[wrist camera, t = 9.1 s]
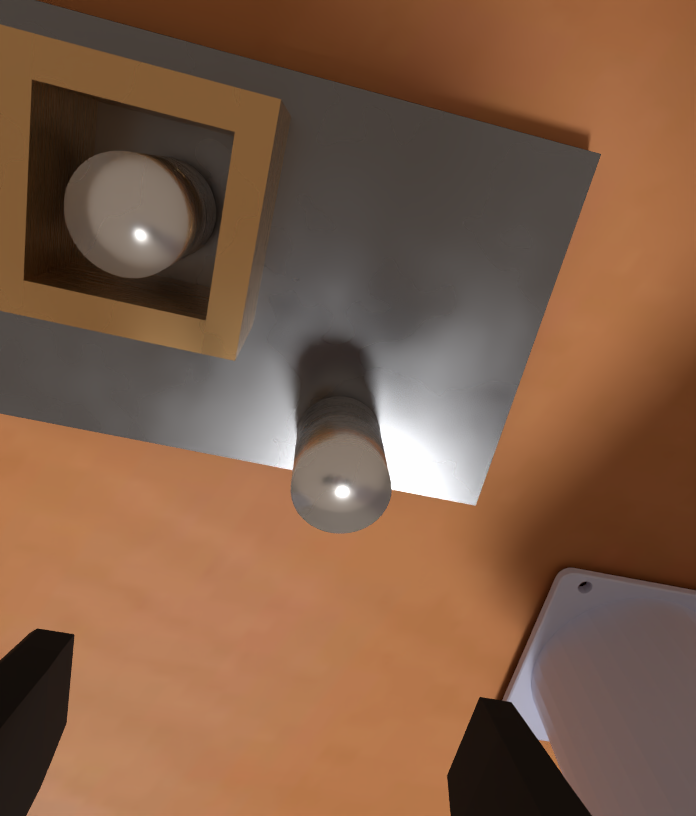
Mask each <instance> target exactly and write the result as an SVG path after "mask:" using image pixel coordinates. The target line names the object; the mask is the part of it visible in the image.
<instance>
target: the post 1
mask: <svg viewBox="0 0 696 816" xmlns="http://www.w3.org/2000/svg"><path fill="white" fill-rule="evenodd" d="M64 215H65V221H66V224H67V228H68V230H69V233H70V235H71V237H72V239H73V241H74V243H75V244H76V246H77V247H78V249H79V250H80V251H81V252H82V254H83V255H84V256H85V257H86V258H87V259H88V260H89V261H90V262H92V263H93V264H94V265H96V266H97V267H99V268H100V269H102V270H104V271H106V272H108V273H110V274H113V275H116V276H120V277H125V278H143V277H147V276H151V275H154V274H156V273H159V272H160V271H162V270H164V269H166V268H167V267H169V266H171V265H173V264H174V263H176V262H178V261H180V260H182V259H183V258H185V257H187V256H189V255H190V254H192V253H194V252H196V251H197V250H198V249H200V248H201V247H202V246H203V245H204V244H205V243H206V242H207V240H208V239H209V237H210V235H211V233H212V231H213V228H214V225H215V220H216V205H215V200H214V197H213V193H212V191H211V189H210V187H209V185H208V183H207V182H206V180H205V179H204V178H203V176H202V175H201V174H200V173H199V172H198V171H197V170H196V169H195V168H193V167H192V166H191V165H189V164H187V163H186V162H184V161H182V160H179V159H176V158H172V157H167V156H159V155H151V154H144V153H136V152H128V151H108V152H104V153H100V154H97V155H95V156H93V157H91V158H89V159H88V160H86V161H85V162H84V163H82V164H81V165H80V166H79V167H78V168H77V170H76V171H75V172H74V174H73V175H72V177H71V178H70V181H69V183H68V185H67V188H66V192H65V198H64Z"/></svg>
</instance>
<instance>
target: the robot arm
mask: <svg viewBox="0 0 696 816" xmlns="http://www.w3.org/2000/svg"><path fill="white" fill-rule="evenodd" d="M582 582H587V583H586V584H585V585H583V586H579V585H580V584H581V583H582ZM73 645H74V634H69V633H63V632H56V631H50V630H43V629H36V630H34V631H32V632H31V633H29V634H28V635H27V636H26V637H25V638H24V639H23V640H22V641H21V642H20V643H19V644H17V645H16V646H15V647H14V648H13V649H12V650H11V651H10V652H9V653H8V654H7V655H6V656H4V657H3V658H2V659H1V660H0V816H26V815H27V813H28V811H29V809H30V807H31V805H32V803H33V801H34V799H35V797H36V795H37V793H38V791H39V789H40V787H41V785H42V782H43V780H44V778H45V775H46V773H47V770H48V768H49V766H50V763H51V761H52V758H53V756H54V753H55V751H56V748H57V746H58V743H59V741H60V738H61V736H62V733H63V731H64V728H65V726H66V723H67V712H68V701H69V690H70V678H71V667H72V656H73ZM539 740H544V741H550V744H551V746H552V749H553V751H554V754H555V756H556V759H557V761H558V764H559V766H560V769H561V772H562V773H561V772H560V770H559V769H558V768H557V766H556V765H555V763H554V762H553V760H552V759H551V758H550V756H549V755H548V753H547V752H546V751H545V749H544V748H543V746H542V745H541V743H540V742H539ZM562 774H563V775H562ZM447 779H448V790H449V801H450V812H451V816H696V590H691V589H686V588H680V587H675V586H669V585H664V584H659V583H653V582H648V581H642V580H637V579H631V578H626V577H621V576H615V575H610V574H604V573H599V572H594V571H588V570H583V569H577V568H566V569H563V570H561V571H560V572H559V573H558V574H557V576H556V577H555V579H554V582H553V584H552V586H551V589H550V591H549V593H548V596H547V598H546V600H545V603H544V605H543V607H542V609H541V612H540V614H539V616H538V619H537V621H536V623H535V626H534V628H533V630H532V633H531V635H530V637H529V639H528V642H527V644H526V646H525V649H524V651H523V653H522V656H521V658H520V660H519V663H518V665H517V667H516V669H515V672H514V674H513V676H512V679H511V681H510V683H509V686H508V688H507V690H506V693H505V695H504V697H503V699H502V700H495V699H489V698H482V697H480V698H479V700H478V703H477V705H476V707H475V710H474V712H473V715H472V717H471V719H470V722H469V724H468V727H467V729H466V731H465V734H464V736H463V739H462V741H461V744H460V746H459V748H458V751H457V753H456V756H455V758H454V760H453V763H452V765H451V768H450V770H449V772H448V775H447Z"/></svg>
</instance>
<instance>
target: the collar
mask: <svg viewBox="0 0 696 816" xmlns="http://www.w3.org/2000/svg"><path fill="white" fill-rule="evenodd" d="M98 101H99V102H102V103H106V104H110V105H114V106H118V107H122V108H126V109H130V110H134V111H137V112H141V113H145V114H149V115H153V116H157V117H161V118H165V119H169V120H172V121H176V122H180V123H184V124H188V125H192V126H196V127H200V128H203V129H207V130H211V131H215V132H219V133H223V134H227V135H231V136H234V141H233V147H232V154H231V160H230V167H229V173H228V180H227V186H226V193H225V199H224V206H223V212H222V219H221V225H220V232H219V238H218V245H217V251H216V258H215V264H214V271H213V277H212V284H211V287H206V286H202V285H197V284H193V283H189V282H184V281H180V280H175V279H171V278H167V277H162V276H158V275H151V276H147V277H143V278H125V277H120V276H116V275H113V274H110V273H108V272H106V271H104V270H102V269H100V268H99V267H97V266H96V265H94V264H93V263H92V262H90V261H89V260H87V259H86V257H85V256H84V255H83V254H82V252H81V251H80V250H79V249H78V247H77V246H76V244H75V243H74V241H73V239H72V237H71V235H70V233H69V230H68V228H67V224H66V221H65V215H64V198H65V192H66V188H67V185H68V183H69V181H70V178H71V177H72V175H73V174H74V172H75V171H76V170H77V168H78V167H79V166H80V165H81V164H82V163H84V162H85V161H86V160H88V159H89V158H91V157H93V156H94V146H95V133H96V120H97V107H98ZM290 120H291V115H290V114H289V112H288V110H287V109H286V107H285V105H284V103H283V102H282V100H281V99H278V98H274V97H270V96H267V95H263V94H259V93H255V92H252V91H248V90H244V89H240V88H237V87H233V86H229V85H225V84H222V83H218V82H214V81H210V80H207V79H203V78H199V77H196V76H192V75H188V74H184V73H181V72H177V71H173V70H169V69H166V68H162V67H158V66H154V65H151V64H147V63H143V62H139V61H136V60H132V59H128V58H124V57H121V56H117V55H113V54H109V53H106V52H102V51H98V50H94V49H91V48H87V47H83V46H79V45H76V44H72V43H68V42H64V41H61V40H57V39H53V38H49V37H46V36H42V35H38V34H34V33H31V32H27V31H23V30H19V29H16V28H12V27H8V26H4V25H1V24H0V311H3V312H8V313H13V314H17V315H22V316H27V317H32V318H36V319H41V320H46V321H50V322H55V323H60V324H64V325H69V326H74V327H78V328H83V329H88V330H92V331H97V332H102V333H106V334H111V335H116V336H120V337H125V338H130V339H134V340H139V341H144V342H149V343H153V344H158V345H163V346H167V347H172V348H177V349H181V350H186V351H191V352H195V353H200V354H205V355H209V356H214V357H219V358H223V359H228V360H233V361H235V360H236V358H237V356H238V354H239V352H240V350H241V348H242V346H243V344H244V342H245V340H246V338H247V336H248V334H249V332H250V330H251V328H252V326H253V322H254V317H255V311H256V306H257V300H258V295H259V289H260V284H261V278H262V273H263V268H264V262H265V257H266V251H267V246H268V240H269V235H270V229H271V224H272V218H273V213H274V207H275V202H276V196H277V191H278V186H279V180H280V175H281V169H282V164H283V158H284V153H285V147H286V142H287V136H288V131H289V125H290Z"/></svg>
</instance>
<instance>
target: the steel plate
mask: <svg viewBox="0 0 696 816" xmlns="http://www.w3.org/2000/svg"><path fill="white" fill-rule="evenodd" d="M0 24H1V25H4V26H8V27H12V28H16V29H19V30H23V31H27V32H31V33H34V34H38V35H42V36H46V37H49V38H53V39H57V40H61V41H64V42H68V43H72V44H76V45H79V46H83V47H87V48H91V49H94V50H98V51H102V52H106V53H109V54H113V55H117V56H121V57H124V58H128V59H132V60H136V61H139V62H143V63H147V64H151V65H154V66H158V67H162V68H166V69H169V70H173V71H177V72H181V73H184V74H188V75H192V76H196V77H199V78H203V79H207V80H210V81H214V82H218V83H222V84H225V85H229V86H233V87H237V88H240V89H244V90H248V91H252V92H255V93H259V94H263V95H267V96H270V97H274V98H278V99H281V100H282V102H283V103H284V105H285V107H286V109H287V110H288V112H289V114H290V115H291V120H290V125H289V131H288V136H287V142H286V147H285V153H284V158H283V164H282V169H281V175H280V180H279V186H278V191H277V196H276V202H275V207H274V213H273V218H272V224H271V229H270V235H269V240H268V246H267V251H266V257H265V262H264V268H263V273H262V278H261V284H260V289H259V295H258V300H257V306H256V311H255V317H254V322H253V326H252V328H251V330H250V332H249V334H248V336H247V338H246V340H245V342H244V344H243V346H242V348H241V350H240V352H239V354H238V356H237V358H236V360H235V361H233V360H228V359H223V358H219V357H214V356H209V355H205V354H200V353H195V352H191V351H186V350H181V349H177V348H172V347H167V346H163V345H158V344H153V343H149V342H144V341H139V340H134V339H130V338H125V337H120V336H116V335H111V334H106V333H102V332H97V331H92V330H88V329H83V328H78V327H74V326H69V325H64V324H60V323H55V322H50V321H46V320H41V319H36V318H32V317H27V316H22V315H17V314H13V313H8V312H3V311H0V413H1V414H6V415H11V416H16V417H21V418H27V419H32V420H37V421H42V422H47V423H52V424H58V425H63V426H68V427H73V428H78V429H83V430H89V431H94V432H99V433H104V434H109V435H114V436H120V437H125V438H130V439H135V440H140V441H145V442H150V443H156V444H161V445H166V446H171V447H176V448H181V449H187V450H192V451H197V452H202V453H207V454H212V455H218V456H223V457H228V458H233V459H238V460H243V461H249V462H254V463H259V464H264V465H269V466H274V467H280V468H285V469H290V470H293V463H294V455H295V446H296V438H297V430H298V425H299V422H300V420H301V417H302V416H303V414H304V413H305V412H306V411H307V409H308V408H309V407H311V406H312V405H313V404H315V403H316V402H318V401H320V400H322V399H325V398H329V397H335V396H343V397H349V398H353V399H356V400H358V401H360V402H362V403H363V404H365V405H366V406H367V407H368V408H369V409H370V410H371V411H372V412H373V413H374V415H375V417H376V418H377V421H378V423H379V427H380V432H381V437H382V442H383V446H384V451H385V456H386V461H387V465H388V470H389V475H390V479H391V487H392V489H393V490H398V491H404V492H409V493H414V494H419V495H424V496H429V497H435V498H440V499H445V500H450V501H455V502H460V503H466V504H471V505H476V503H477V500H478V497H479V495H480V492H481V489H482V486H483V483H484V481H485V478H486V475H487V472H488V469H489V467H490V464H491V461H492V458H493V455H494V453H495V450H496V447H497V444H498V441H499V439H500V436H501V433H502V430H503V427H504V425H505V422H506V419H507V416H508V413H509V411H510V408H511V405H512V402H513V399H514V397H515V394H516V391H517V388H518V385H519V383H520V380H521V377H522V374H523V371H524V369H525V366H526V363H527V360H528V357H529V355H530V352H531V349H532V346H533V343H534V341H535V338H536V335H537V332H538V329H539V327H540V324H541V321H542V318H543V315H544V313H545V310H546V307H547V304H548V301H549V299H550V296H551V293H552V290H553V287H554V285H555V282H556V279H557V276H558V273H559V271H560V268H561V265H562V262H563V259H564V257H565V254H566V251H567V248H568V245H569V243H570V240H571V237H572V234H573V231H574V229H575V226H576V223H577V220H578V217H579V215H580V212H581V209H582V206H583V203H584V201H585V198H586V195H587V192H588V189H589V187H590V184H591V181H592V178H593V175H594V173H595V170H596V167H597V164H598V161H599V159H600V156H601V154H599V153H595V152H591V151H588V150H584V149H580V148H577V147H573V146H569V145H566V144H562V143H558V142H555V141H551V140H547V139H544V138H540V137H536V136H533V135H529V134H525V133H522V132H518V131H514V130H511V129H507V128H503V127H500V126H496V125H492V124H489V123H485V122H481V121H477V120H474V119H470V118H466V117H463V116H459V115H455V114H452V113H448V112H444V111H441V110H437V109H433V108H430V107H426V106H422V105H419V104H415V103H411V102H408V101H404V100H400V99H397V98H393V97H389V96H386V95H382V94H378V93H375V92H371V91H367V90H363V89H360V88H356V87H352V86H349V85H345V84H341V83H338V82H334V81H330V80H327V79H323V78H319V77H316V76H312V75H308V74H305V73H301V72H297V71H294V70H290V69H286V68H283V67H279V66H275V65H272V64H268V63H264V62H261V61H257V60H253V59H250V58H246V57H242V56H238V55H235V54H231V53H227V52H224V51H220V50H216V49H213V48H209V47H205V46H202V45H198V44H194V43H191V42H187V41H183V40H180V39H176V38H172V37H169V36H165V35H161V34H158V33H154V32H150V31H147V30H143V29H139V28H136V27H132V26H128V25H124V24H121V23H117V22H113V21H110V20H106V19H102V18H99V17H95V16H91V15H88V14H84V13H80V12H77V11H73V10H69V9H66V8H62V7H58V6H55V5H51V4H47V3H44V2H40V1H36V0H0ZM233 141H234V136H231V135H227V134H223V133H219V132H215V131H211V130H207V129H203V128H200V127H196V126H192V125H188V124H184V123H180V122H176V121H172V120H169V119H165V118H161V117H157V116H153V115H149V114H145V113H141V112H137V111H134V110H130V109H126V108H122V107H118V106H114V105H110V104H106V103H102V102H99V101H98V107H97V120H96V133H95V146H94V156H95V155H97V154H100V153H104V152H108V151H128V152H136V153H144V154H151V155H159V156H167V157H172V158H176V159H179V160H182V161H184V162H186V163H187V164H189V165H191V166H192V167H193V168H195V169H196V170H197V171H198V172H199V173H200V174H201V175H202V176H203V178H204V179H205V180H206V182H207V183H208V185H209V187H210V189H211V191H212V193H213V197H214V200H215V205H216V220H215V225H214V228H213V231H212V233H211V235H210V237H209V239H208V240H207V242H206V243H205V244H204V245H203V246H202V247H201V248H200V249H198V250H197V251H196V252H194V253H192V254H190V255H189V256H187V257H185V258H183V259H182V260H180V261H178V262H176V263H174V264H173V265H171V266H169V267H167V268H166V269H164V270H162V271H160V272H159V273H156V274H154V275H158V276H162V277H167V278H171V279H175V280H180V281H184V282H189V283H193V284H197V285H202V286H206V287H211V284H212V277H213V271H214V264H215V258H216V251H217V245H218V238H219V232H220V225H221V219H222V212H223V206H224V199H225V193H226V186H227V180H228V173H229V167H230V160H231V154H232V147H233ZM86 259H87V258H86ZM87 260H88V259H87Z"/></svg>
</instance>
